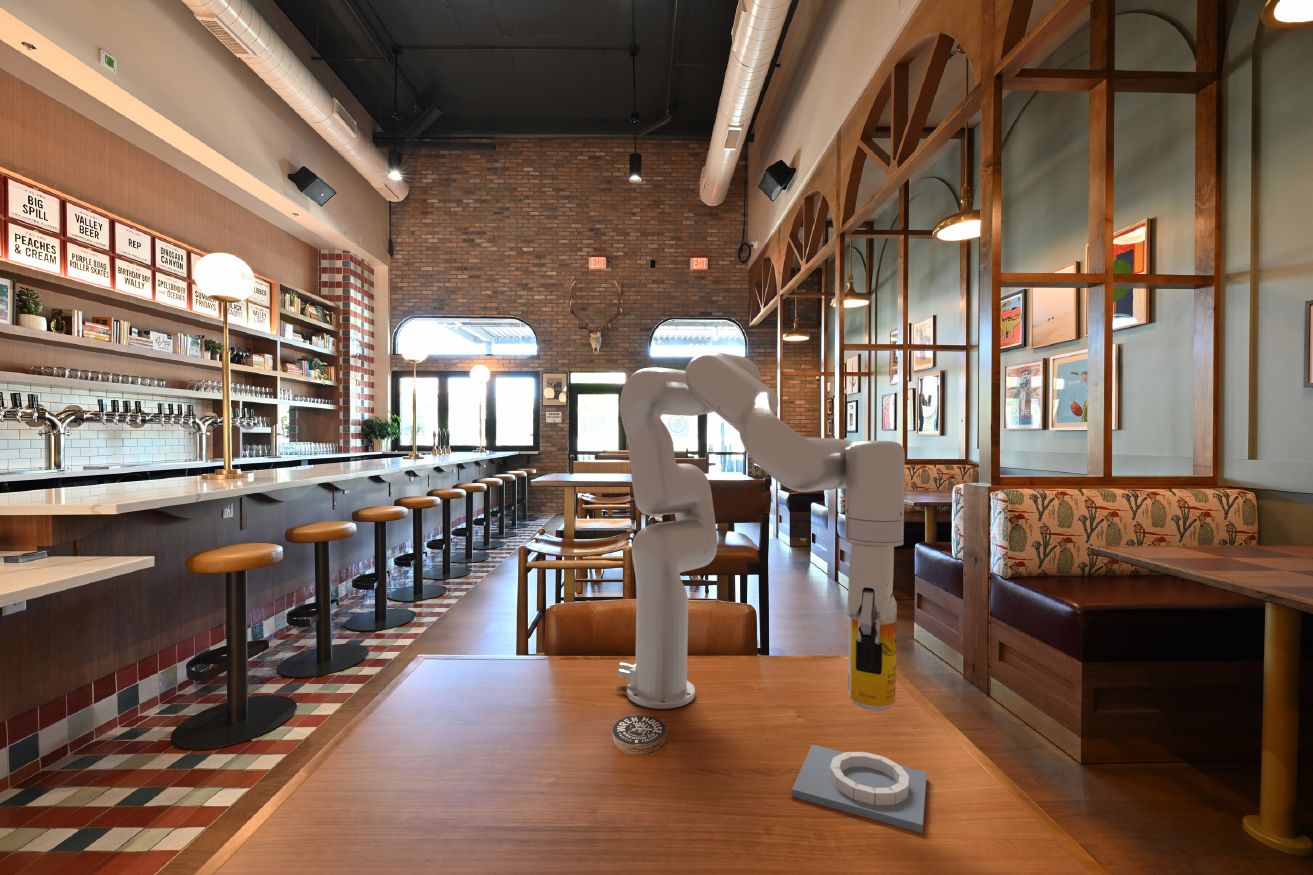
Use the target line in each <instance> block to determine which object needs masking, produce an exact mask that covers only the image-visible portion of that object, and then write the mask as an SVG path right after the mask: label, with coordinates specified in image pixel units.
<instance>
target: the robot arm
mask: <svg viewBox="0 0 1313 875" xmlns="http://www.w3.org/2000/svg"><path fill="white" fill-rule="evenodd" d="M778 406H779V398H778V395H777V394H776V392H775V390H774V389H772V388H771V387H769V386H767V385H766V384H765V383H763V382H762V377H761V373H760V370H759V368H758V367H757V365H756V364H755V363H754V362H753V361H752V360H751V359H749V358H748V357H744V356H742V355H737V354H736V355H735V354H728V353H724V352H723V353H722V352H718V351H717V352H716V351H706V352H702V353H700V354H699V353H698V354H697V355H695V356H694V357H693V358H691V360H690V361H689V362H688V364H687V366H686V369H685V370H683V369H682V370H681V369H674V368H667V367H666V368H665V367H646V368H641V369H639V370H637V371H635V372H634V373H632V374H631V375H630V376H629V377H628V378H627V379H626V381H625V383H624V385H623V388H622V391H621V395H620V399H619V411H620V418H621V419H620V420H621V423H622V426H623V429H624V430H623V431H624V434H625V437H626V442H627V447H628V458H629V466H630V475H631V476H630V477H631V483H632V491H633V496H634V497H633V498H634V503H635V505H636V507H637V509H638V510H639V512H641V513H642V514H644V515H647V516H664V515H667V516H668V515H673V514H675V515H674V516H675V520H671V521H663V522H656V523H651V524H649V525H647V526H644V527H643V528H641V529H640V530H639V531H638V532H637V533H636V535H635V536H634V538H633V540H632V543H631V557H632V558H631V559H632V563H633V568H634V575H635V589H636V590H635V594H636V595H635V597H636V598H635V599H636V602H635V603H636V605H635V606H636V607H635V608H636V609H635V610H636V616H635V617H636V619H635V620H636V621H635V624H636V625H635V627H636V628H635V663H634V664H631V663H629V662H625V661H621V662H620V663H618V668H617V669H618V671H617V676H618V677H619V678H622V679H628V681H629V683H628V685H627V687H626V696H627V698H628V699H629V700H630V701H631V702H633V703H634V704H636V705H638V706H641V707H643V708H648V709H649V708H650V709H655V710H656V709H657V710H664V709H665V710H666V709H667V710H668V709H676V708H680V707H683V706H685V705H688V704H689V703H690V702H692V701H693V700H695V696H696V688H695V685H694V684H693V683H691V682H690V681H689V680H688V640H689V639H688V638H689V637H688V636H689V635H688V633H689V632H688V628H689V626H688V625H689V598H688V593H687V589H686V587H685V584H684V583H683V580H682V578H681V576H680V575H681V573H683V572H688V571H692V570H696V569H700V568H703V567H706V566H708V565H709V564H711V563H712V561H714V559H715V557H716V554H717V553H718V552H717V551H718V532H717V524H716V516H715V510H714V509H715V508H714V502H713V501H714V500H713V494H712V487H711V485H710V482H709V479H708V476H707V475H706V473H705V472H704V471H703V470H702V469H701V468H700V467H698V466H697V465H694V464H691V463H677V461H676V457H675V456H676V455H675V448H674V442H673V438H672V436H671V433H670V431H669V428H668V427H667V426H666V424H665V423H664V422H663V419H661V417H662V415H667V416H668V415H669V416H670V415H671V416H689V417H692V416H694V417H695V416H703V415H706V414H711V413H716V415H718V416H719V417H720V418H722V420H724V421H725V422H727V423H728V424H729V425H730V426H731V427H732V428H734V429H735V430H736V431H737V432H738V433H739V438H740V441H741V444H742V445H743V448H744V449H745V452H746V454H747V455H748V456H749V458H750V460H752V461H753V463H755V464H756V465H757V466H758V467H760V468H761V469H762V470H763V471H764V472H766V474H768V475H769V476H770V477H771V478H773V479H774V480H775V481H776V482H778V483H779V484H781V486H782V485H783V487H786V488H787V489H790V490H792V491H796V492H800V493H808V492H818V491H819V492H820V491H830V490H831V491H832V490H839V489H845V492H844V493H845V497H844V498H845V499H844V500H845V502H844V504H845V506H844V507H845V508H844V509H845V510H844V541H846V543H850V544H851V548H850V554H849V567H848V569H849V570H848V587H847V588H848V589H847V602H846V603H847V605H846V606H847V607H846V615H847V616H848V618H849V617H850V618H852V617H853V616H856V614H857V612H858V610H859V617H858V632H857V640H856V669H857V670H858V671H862V672H868V673H873V674H881V672H882V643H880V632H881V622H882V621H884V620H886V618H887V613H888V607H889V602H890V597H891V596H892V593H893V587H894V566H895V565H894V564H895V563H894V562H895V560H894V559H895V554H894V553H895V547H900V546H903V545H904V535H905V534H904V530H905V528H904V527H905V520H904V519H905V517H904V516H905V469H906V468H905V462H906V461H905V460H906V458H905V457H906V456H905V454H906V453H905V449H904V447H903V445H901V443H899V442H896V441H892V440H891V441H890V440H889V441H888V440H856V441H853V440H848V439H847V440H846V439H841V438H830V437H829V438H828V437H827V438H826V437H804V436H803V435H801V434H800V433H798V432H797V431H796V430H794V429H793V428H791V427H790V426H789V425H788V424H786V423H784V421H783V420H781V419H780V418H779V417H778V416H777V415H776V413H777V410H778V408H779V407H778ZM874 595H875V602H874ZM877 611H878V613H877ZM873 613H876V614H878V617H877V619H876V618H872V614H873ZM872 623H873V624H876V629H875V628H874V626H872Z"/></svg>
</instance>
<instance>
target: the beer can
mask: <svg viewBox="0 0 1313 875" xmlns="http://www.w3.org/2000/svg"><path fill="white" fill-rule="evenodd" d="M874 602H875V595H874ZM897 609H898V603H897V601H896V599H895V596H894V593H893V592H892V596H891V597H890V602H889V607H888V613H887V618H886V620H884V621H882V622H881V632H880V643H882V672H881V674H873V673H868V672H862V671H858V670H857V669H856V640H857V632H858V617H859V610H858V612H857V614H856V616H853V617H852V618H850V617H849V616H848V664H847V665H848V668H847V669H848V672H847V675H848V676H847V681H848V682H847V683H848V684H847V695H848V697H849V698H850V699H851V701H852V703H853V704H854V705H856V706H857V707H859V708H861V709H863V710H867V711H873V712H884V711H887V710H890V709H891V707H892V706H893V705H894V704H895V703H896V690H897V689H896V679H897V677H896V676H897V671H896V670H897V618H898V617H897V616H898V615H897V614H898V613H897V612H898V610H897ZM877 613H878V611H877ZM877 617H878V614H876V613H873V614H872V618H876V619H877ZM872 626H874V628H875V629H876V624H873V623H872Z"/></svg>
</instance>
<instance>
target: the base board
mask: <svg viewBox="0 0 1313 875" xmlns="http://www.w3.org/2000/svg"><path fill="white" fill-rule="evenodd" d="M927 772H928V771H924V770H919V769H917V768H911V767H907V766H903V765H900V764H899V763H896V762H895V761H893V760H891V759H889V758H887V757H885V756H883V755H878V754H876V753H875V754H874V753H870V752H867V751H847V752H844V751H841V750H836V749H832V748H828V747H824V746H823V747H822V746H820V745H816V744H811V745H810V749H809V750H808V752H807V754H806V757H805V759H804V762H803V763H802V766H801V767H800V770H799V773H798V775H797V777H796V779H795V781H794V784H793V785H792V788H791V797H792V798H795V799H799V800H802V801H807V802H810V803H813V804H817V805H820V806H824V807H827V808H832V809H835V810H839V811H842V812H846V813H849V814H853V815H856V816H859V817H863V818H867V819H871V820H873V821H877V822H881V823H884V824H888V825H892V826H895V827H899V828H903V829H907V830H910V831H914V832H917V833H920V834H923V831H924V818H925V816H924V815H925V806H926V805H925V804H926V803H925V802H926V791H927V777H928V776H927V775H928V774H927Z"/></svg>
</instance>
